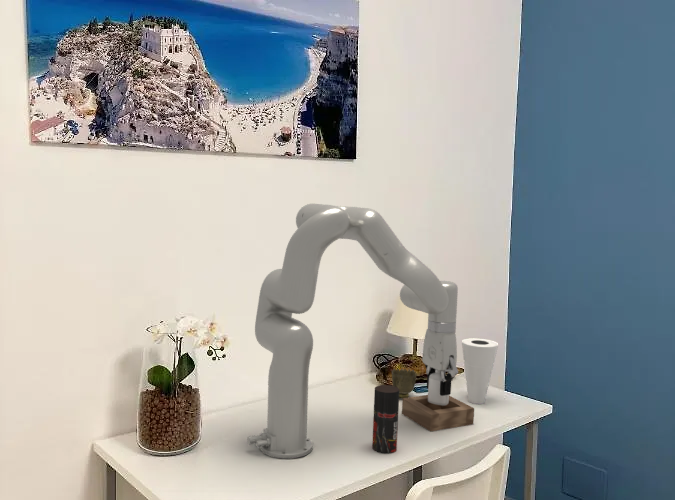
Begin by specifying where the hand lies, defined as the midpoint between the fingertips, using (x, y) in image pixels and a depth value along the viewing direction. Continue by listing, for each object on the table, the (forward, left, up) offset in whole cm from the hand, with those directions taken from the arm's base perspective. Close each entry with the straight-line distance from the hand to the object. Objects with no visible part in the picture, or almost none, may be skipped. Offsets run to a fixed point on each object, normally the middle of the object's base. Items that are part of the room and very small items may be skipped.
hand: (438, 390), depth 183 cm
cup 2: (+20, +8, -8) cm, 23 cm away
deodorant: (-24, -12, -8) cm, 28 cm away
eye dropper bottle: (0, 0, -4) cm, 4 cm away
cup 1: (+1, +19, -8) cm, 21 cm away
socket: (0, 0, -8) cm, 8 cm away
